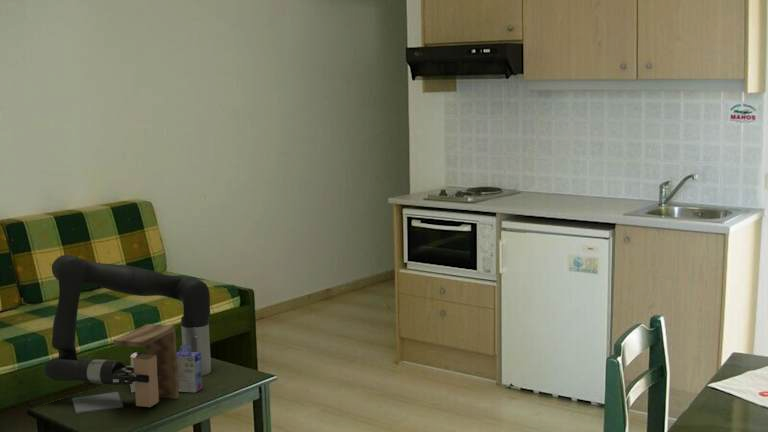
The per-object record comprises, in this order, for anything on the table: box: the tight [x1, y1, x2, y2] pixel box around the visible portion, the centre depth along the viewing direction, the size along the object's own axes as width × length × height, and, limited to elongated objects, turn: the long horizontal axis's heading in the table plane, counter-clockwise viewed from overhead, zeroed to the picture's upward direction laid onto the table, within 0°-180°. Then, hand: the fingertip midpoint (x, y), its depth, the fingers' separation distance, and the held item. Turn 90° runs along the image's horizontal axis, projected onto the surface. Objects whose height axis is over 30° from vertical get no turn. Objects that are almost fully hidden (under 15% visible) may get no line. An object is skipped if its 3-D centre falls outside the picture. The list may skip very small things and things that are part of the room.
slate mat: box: [72, 391, 124, 415], centre depth 290 cm, size 14×14×1 cm
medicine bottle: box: [129, 351, 146, 393], centre depth 303 cm, size 7×7×12 cm
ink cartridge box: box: [176, 345, 203, 393], centre depth 300 cm, size 10×6×14 cm, turn 78°
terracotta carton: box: [133, 354, 160, 408], centre depth 284 cm, size 5×5×15 cm
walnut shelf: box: [112, 323, 180, 400], centre depth 285 cm, size 10×19×24 cm, turn 163°
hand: (153, 376), depth 283 cm, fingers closed on terracotta carton, 5 cm apart
